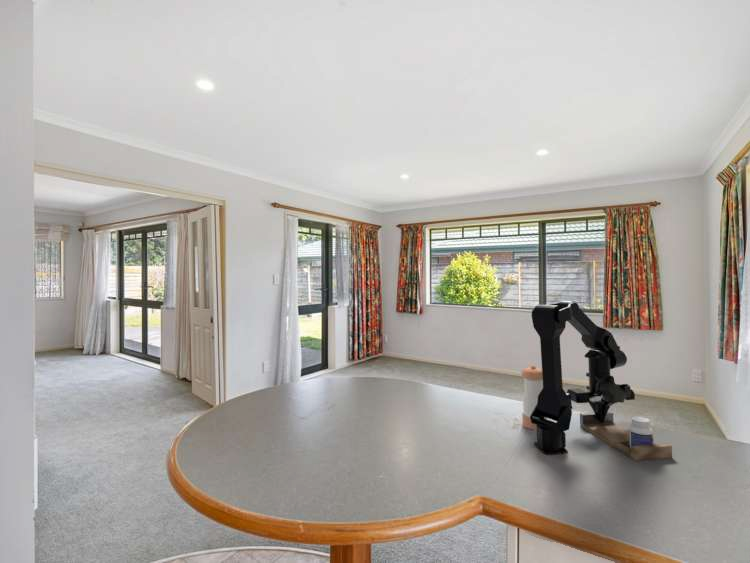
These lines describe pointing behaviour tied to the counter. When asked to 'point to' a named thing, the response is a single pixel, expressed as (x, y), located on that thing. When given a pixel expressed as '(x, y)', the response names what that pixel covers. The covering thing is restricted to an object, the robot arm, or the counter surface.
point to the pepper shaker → (531, 393)
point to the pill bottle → (640, 432)
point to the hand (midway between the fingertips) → (601, 422)
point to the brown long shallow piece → (622, 438)
